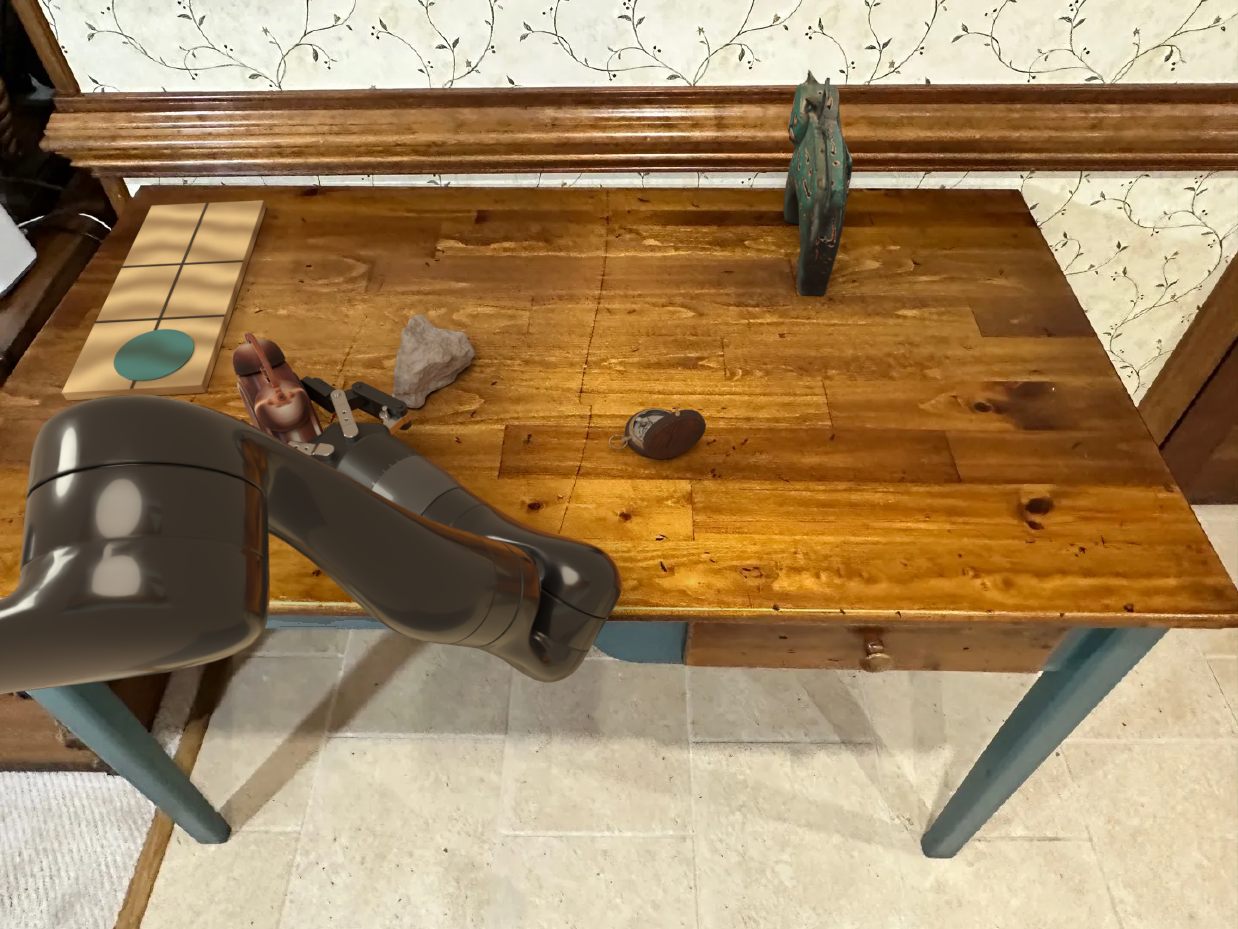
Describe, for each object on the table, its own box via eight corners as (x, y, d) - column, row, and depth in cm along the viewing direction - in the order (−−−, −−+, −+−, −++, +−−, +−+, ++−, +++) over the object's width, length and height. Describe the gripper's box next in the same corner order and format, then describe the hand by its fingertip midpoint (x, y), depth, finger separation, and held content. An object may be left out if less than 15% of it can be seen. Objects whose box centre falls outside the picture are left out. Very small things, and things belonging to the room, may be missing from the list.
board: (205, 393, 91) (200, 383, 90) (66, 401, 90) (59, 391, 89) (266, 208, 113) (263, 198, 112) (155, 213, 112) (150, 203, 111)
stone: (451, 420, 88) (441, 377, 84) (376, 407, 89) (363, 364, 85) (483, 355, 94) (476, 313, 90) (413, 344, 96) (402, 302, 91)
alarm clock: (258, 441, 86) (209, 319, 75) (306, 423, 88) (266, 301, 77) (295, 515, 80) (248, 393, 69) (346, 494, 82) (308, 372, 71)
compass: (670, 406, 89) (673, 352, 84) (704, 461, 84) (710, 407, 79) (597, 428, 87) (595, 375, 82) (628, 485, 82) (628, 432, 77)
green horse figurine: (773, 202, 113) (796, 45, 98) (823, 203, 113) (854, 45, 98) (786, 299, 100) (814, 135, 85) (843, 301, 100) (881, 136, 85)
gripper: (461, 415, 71) (327, 331, 78) (320, 526, 64) (186, 423, 71) (472, 474, 77) (347, 391, 84) (344, 583, 70) (218, 482, 77)
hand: (274, 406), depth 77 cm, fingers closed on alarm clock, 6 cm apart
